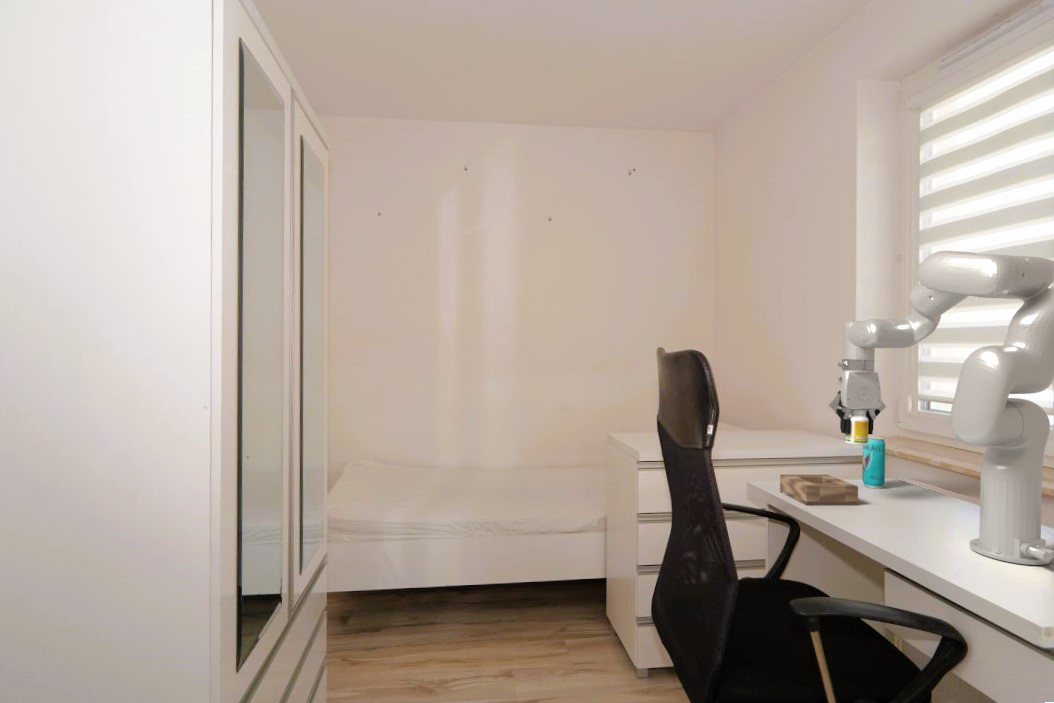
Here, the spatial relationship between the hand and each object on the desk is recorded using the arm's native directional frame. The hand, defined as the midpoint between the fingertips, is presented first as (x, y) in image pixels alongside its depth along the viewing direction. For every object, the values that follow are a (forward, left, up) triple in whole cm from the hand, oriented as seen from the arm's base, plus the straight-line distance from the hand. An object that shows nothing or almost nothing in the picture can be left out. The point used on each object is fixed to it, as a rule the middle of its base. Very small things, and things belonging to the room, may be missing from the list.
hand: (856, 432), depth 155 cm
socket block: (+4, +8, -19) cm, 21 cm away
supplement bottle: (0, 0, -3) cm, 3 cm away
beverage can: (+17, -17, -19) cm, 30 cm away
